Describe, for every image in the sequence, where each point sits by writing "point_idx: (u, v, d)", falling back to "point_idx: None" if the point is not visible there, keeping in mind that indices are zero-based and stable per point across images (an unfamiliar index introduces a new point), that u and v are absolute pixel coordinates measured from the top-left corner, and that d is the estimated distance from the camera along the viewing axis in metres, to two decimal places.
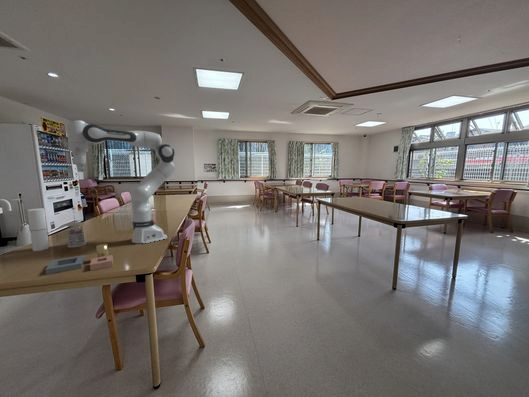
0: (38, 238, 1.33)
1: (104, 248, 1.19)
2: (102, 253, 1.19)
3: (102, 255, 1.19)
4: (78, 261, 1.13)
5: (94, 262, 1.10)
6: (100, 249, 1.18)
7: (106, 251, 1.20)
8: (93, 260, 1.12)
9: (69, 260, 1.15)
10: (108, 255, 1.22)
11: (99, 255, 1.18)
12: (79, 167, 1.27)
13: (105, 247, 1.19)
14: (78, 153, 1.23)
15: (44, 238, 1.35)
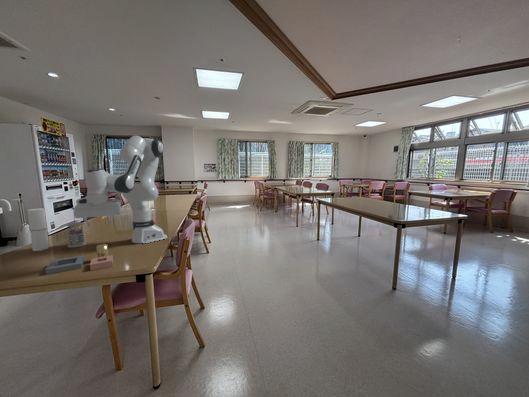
0: (38, 238, 1.33)
1: (104, 248, 1.19)
2: (102, 253, 1.19)
3: (102, 255, 1.19)
4: (78, 261, 1.13)
5: (94, 262, 1.10)
6: (100, 249, 1.18)
7: (106, 251, 1.20)
8: (93, 260, 1.12)
9: (69, 260, 1.15)
10: (108, 255, 1.22)
11: (99, 255, 1.18)
12: (112, 218, 1.22)
13: (105, 247, 1.19)
14: None
15: (44, 238, 1.35)
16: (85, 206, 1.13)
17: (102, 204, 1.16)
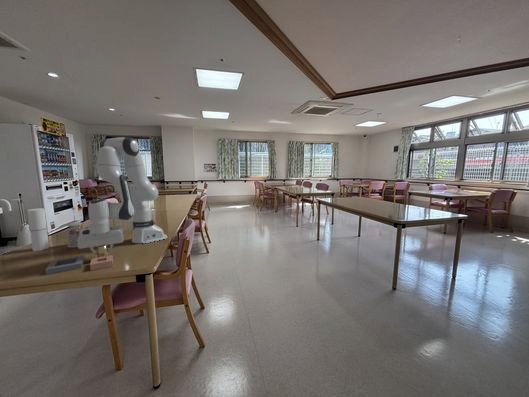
0: (38, 238, 1.33)
1: (104, 248, 1.19)
2: (102, 253, 1.19)
3: (102, 255, 1.19)
4: (78, 261, 1.13)
5: (94, 262, 1.10)
6: (100, 249, 1.18)
7: (106, 251, 1.20)
8: (93, 260, 1.12)
9: (69, 260, 1.15)
10: (108, 255, 1.22)
11: (99, 255, 1.18)
12: (112, 246, 1.23)
13: (105, 247, 1.19)
14: None
15: (44, 237, 1.35)
16: (88, 236, 1.15)
17: (105, 233, 1.18)
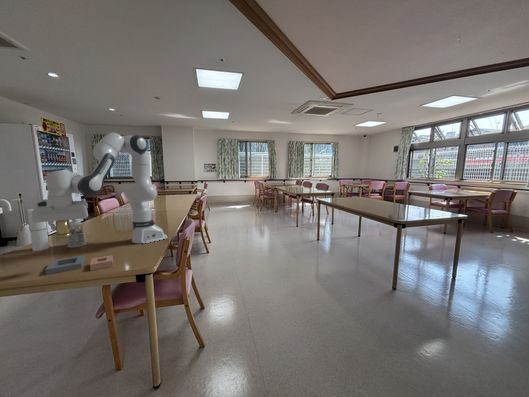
0: (38, 238, 1.33)
1: (64, 223, 1.08)
2: (62, 229, 1.07)
3: (62, 231, 1.07)
4: (78, 261, 1.13)
5: (94, 262, 1.10)
6: (59, 224, 1.07)
7: (67, 227, 1.09)
8: (93, 260, 1.12)
9: (69, 260, 1.15)
10: None
11: (58, 231, 1.07)
12: None
13: (65, 222, 1.08)
14: None
15: (44, 238, 1.35)
16: (45, 209, 1.04)
17: (65, 207, 1.07)
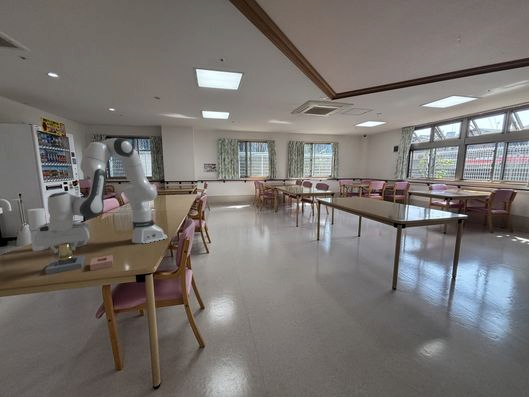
0: None
1: (66, 246, 1.09)
2: (64, 252, 1.09)
3: (64, 254, 1.09)
4: (78, 261, 1.13)
5: (94, 262, 1.10)
6: (61, 247, 1.08)
7: (69, 249, 1.10)
8: (93, 260, 1.12)
9: (69, 260, 1.15)
10: (71, 254, 1.12)
11: (60, 254, 1.08)
12: None
13: (67, 245, 1.10)
14: None
15: None
16: (47, 233, 1.05)
17: (67, 230, 1.09)
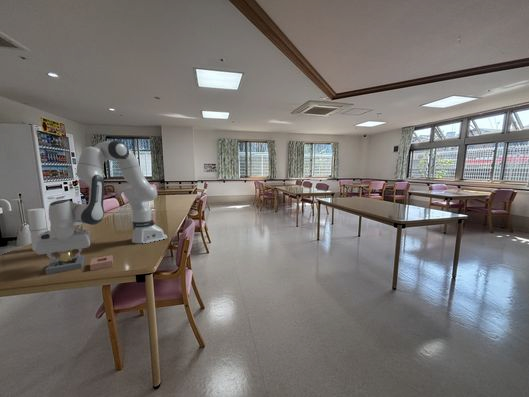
0: None
1: (67, 254, 1.10)
2: (65, 260, 1.09)
3: (65, 262, 1.10)
4: (78, 261, 1.13)
5: (94, 262, 1.10)
6: (63, 255, 1.09)
7: (70, 257, 1.11)
8: (93, 260, 1.12)
9: None
10: (73, 262, 1.13)
11: (62, 262, 1.09)
12: (80, 251, 1.15)
13: (69, 253, 1.10)
14: None
15: None
16: (48, 241, 1.05)
17: (67, 238, 1.09)
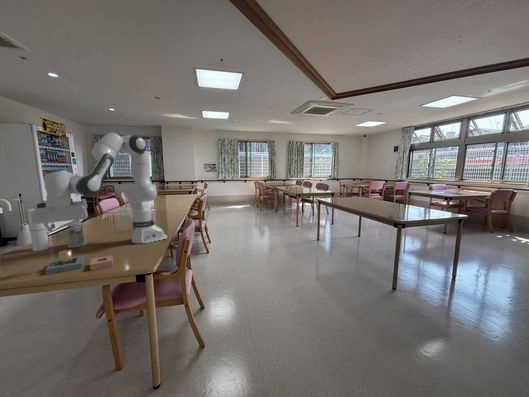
0: (38, 238, 1.33)
1: (67, 254, 1.10)
2: (65, 260, 1.09)
3: (65, 262, 1.10)
4: (78, 261, 1.13)
5: (94, 262, 1.10)
6: (63, 255, 1.09)
7: (70, 257, 1.11)
8: (93, 260, 1.12)
9: None
10: (73, 262, 1.13)
11: (62, 262, 1.09)
12: None
13: (69, 253, 1.10)
14: None
15: (44, 238, 1.35)
16: (44, 210, 1.04)
17: (64, 208, 1.07)
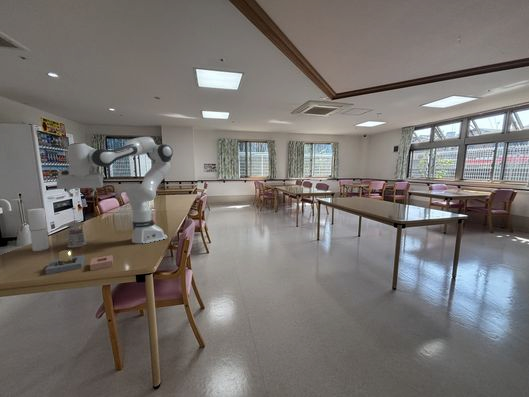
0: (38, 238, 1.33)
1: (67, 254, 1.10)
2: (65, 260, 1.09)
3: (65, 262, 1.10)
4: (78, 261, 1.13)
5: (94, 262, 1.10)
6: (63, 255, 1.09)
7: (70, 257, 1.11)
8: (93, 260, 1.12)
9: None
10: (73, 262, 1.13)
11: (62, 262, 1.09)
12: (94, 191, 1.29)
13: (69, 253, 1.10)
14: None
15: (44, 238, 1.35)
16: (67, 177, 1.20)
17: (84, 176, 1.23)
